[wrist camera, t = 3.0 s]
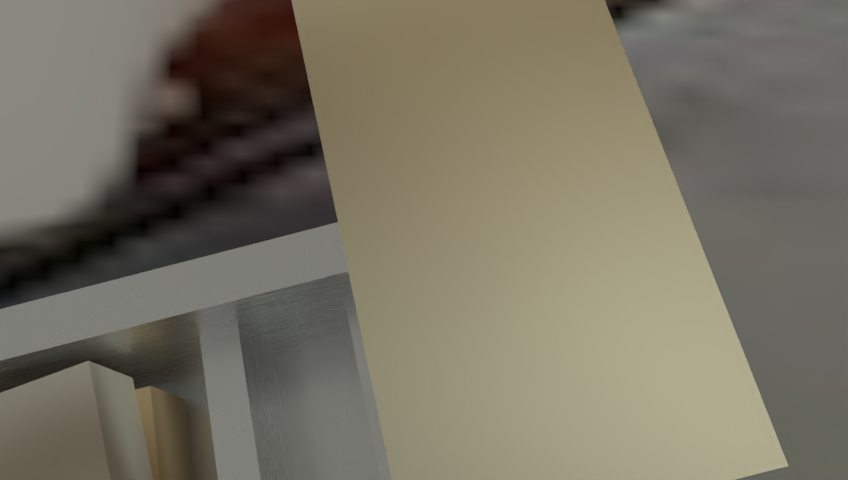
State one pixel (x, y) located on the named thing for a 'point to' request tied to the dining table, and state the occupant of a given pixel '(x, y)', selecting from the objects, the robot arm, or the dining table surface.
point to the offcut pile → (92, 429)
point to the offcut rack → (228, 355)
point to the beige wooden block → (522, 249)
